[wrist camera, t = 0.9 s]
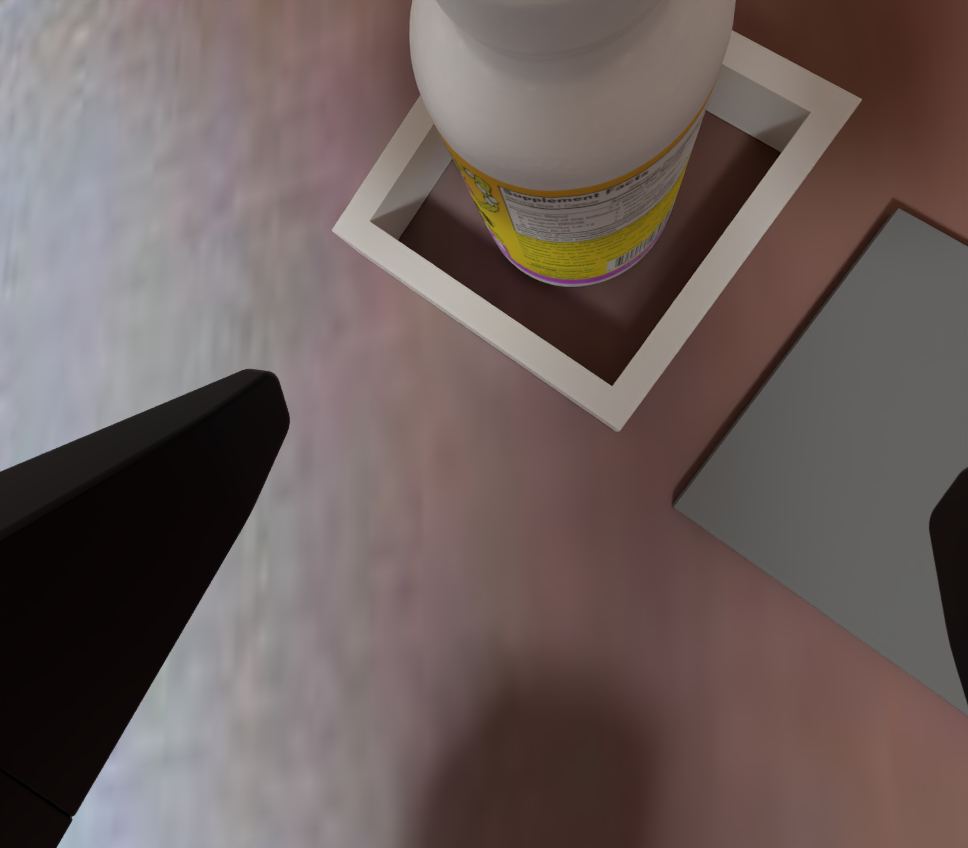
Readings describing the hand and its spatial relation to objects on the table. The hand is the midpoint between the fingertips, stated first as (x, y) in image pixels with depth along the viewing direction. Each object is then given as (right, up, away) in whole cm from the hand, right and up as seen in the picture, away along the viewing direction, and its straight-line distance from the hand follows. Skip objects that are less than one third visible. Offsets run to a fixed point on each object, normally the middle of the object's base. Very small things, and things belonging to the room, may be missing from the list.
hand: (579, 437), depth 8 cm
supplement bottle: (+2, +8, +13) cm, 16 cm away
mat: (+13, -1, +11) cm, 17 cm away
